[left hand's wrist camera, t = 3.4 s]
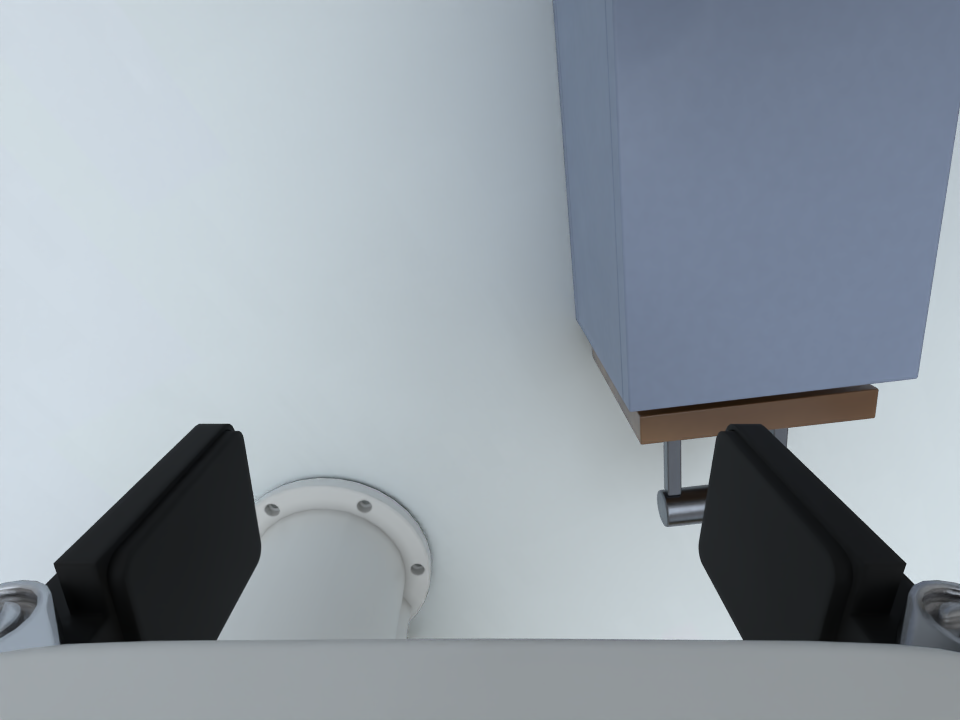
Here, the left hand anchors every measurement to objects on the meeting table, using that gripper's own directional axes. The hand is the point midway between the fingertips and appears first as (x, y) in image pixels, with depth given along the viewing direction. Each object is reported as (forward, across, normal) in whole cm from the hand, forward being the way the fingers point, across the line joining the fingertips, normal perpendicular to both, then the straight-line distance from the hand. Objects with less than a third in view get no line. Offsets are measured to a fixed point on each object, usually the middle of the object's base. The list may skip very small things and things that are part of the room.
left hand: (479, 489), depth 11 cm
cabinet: (+20, -9, -8) cm, 23 cm away
